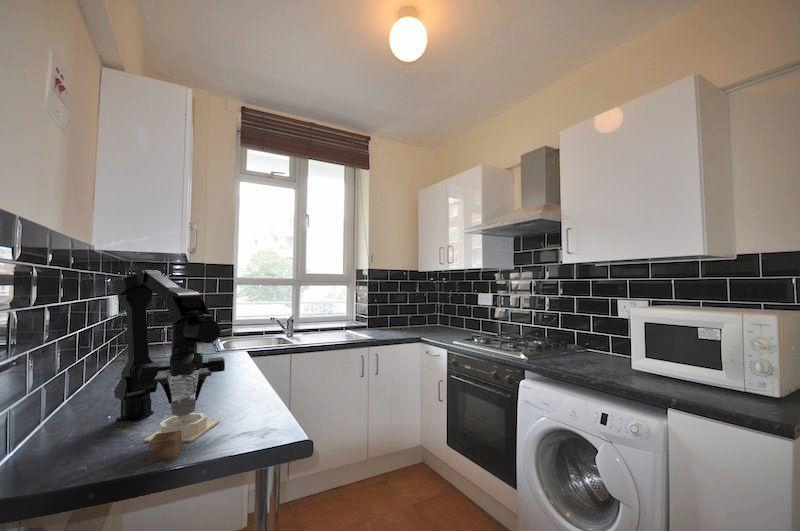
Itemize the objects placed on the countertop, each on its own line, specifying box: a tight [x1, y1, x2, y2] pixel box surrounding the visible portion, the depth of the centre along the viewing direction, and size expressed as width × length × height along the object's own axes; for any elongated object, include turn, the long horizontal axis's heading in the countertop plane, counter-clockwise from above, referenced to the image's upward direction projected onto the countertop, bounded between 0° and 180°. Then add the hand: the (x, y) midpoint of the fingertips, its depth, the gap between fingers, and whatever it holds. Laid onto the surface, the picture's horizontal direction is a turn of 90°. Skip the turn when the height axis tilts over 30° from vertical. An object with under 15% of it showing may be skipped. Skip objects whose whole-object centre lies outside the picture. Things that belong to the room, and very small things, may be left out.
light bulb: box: [170, 374, 197, 422], centre depth 92 cm, size 6×6×12 cm
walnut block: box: [148, 431, 182, 462], centre depth 80 cm, size 5×5×4 cm
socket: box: [142, 412, 220, 443], centre depth 92 cm, size 12×12×3 cm
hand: (183, 401), depth 92 cm, fingers closed on light bulb, 5 cm apart
